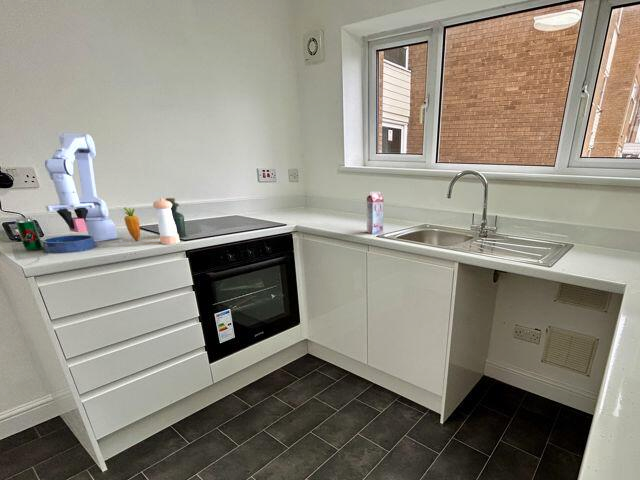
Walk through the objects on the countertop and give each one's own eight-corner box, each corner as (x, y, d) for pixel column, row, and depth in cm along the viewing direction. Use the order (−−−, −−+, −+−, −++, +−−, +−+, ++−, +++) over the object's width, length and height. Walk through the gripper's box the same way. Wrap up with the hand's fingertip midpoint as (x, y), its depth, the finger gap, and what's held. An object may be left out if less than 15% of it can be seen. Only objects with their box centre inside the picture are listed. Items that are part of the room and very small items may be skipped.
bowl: (82, 242, 151) (80, 233, 150) (104, 247, 146) (101, 237, 144) (37, 249, 138) (34, 239, 137) (58, 254, 133) (55, 244, 131)
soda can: (46, 248, 141) (36, 218, 136) (33, 251, 136) (22, 220, 131) (35, 247, 141) (24, 217, 137) (21, 250, 136) (10, 219, 132)
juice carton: (383, 232, 196) (383, 192, 188) (372, 233, 192) (372, 192, 184) (376, 230, 201) (377, 191, 193) (366, 231, 197) (366, 191, 189)
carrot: (146, 240, 159) (138, 207, 153) (135, 242, 154) (126, 208, 149) (138, 239, 160) (130, 206, 155) (127, 241, 156) (118, 207, 150)
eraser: (79, 229, 142) (75, 217, 140) (87, 231, 139) (83, 218, 137) (70, 230, 139) (66, 218, 137) (78, 232, 137) (74, 219, 135)
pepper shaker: (177, 244, 155) (168, 199, 148) (158, 244, 153) (148, 199, 146) (181, 240, 161) (173, 197, 155) (163, 241, 159) (154, 197, 153)
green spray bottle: (169, 239, 164) (161, 199, 157) (166, 236, 170) (158, 197, 163) (189, 237, 169) (182, 198, 162) (185, 234, 174) (178, 197, 168)
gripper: (48, 194, 126) (60, 231, 131) (94, 192, 138) (104, 226, 143) (38, 193, 129) (50, 229, 134) (84, 191, 141) (94, 224, 146)
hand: (77, 228), depth 139 cm, fingers closed on eraser, 3 cm apart
